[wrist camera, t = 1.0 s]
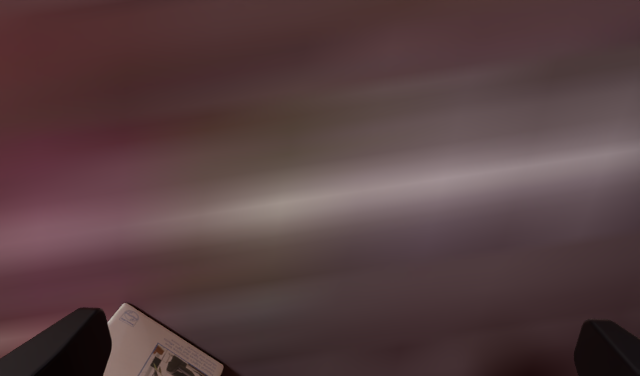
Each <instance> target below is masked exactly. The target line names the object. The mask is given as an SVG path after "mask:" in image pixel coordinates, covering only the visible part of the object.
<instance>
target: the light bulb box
mask: <svg viewBox="0 0 640 376" xmlns="http://www.w3.org/2000/svg"><path fill="white" fill-rule="evenodd" d="M108 327H109V331H110V335H111V339H112V349H111V354H110V357H109V360H108V363H107V366H106V369H105V372H104V375H103V376H221V373H222V371H223V368H224V367H223V365H222V364H221V363H219V362H218V361H216V360H214V359H213V358H211V357H210V356H208V355H207V354H205V353H204V352H202V351H200V350H199V349H197V348H196V347H194V346H193V345H191V344H190V343H188V342H186V341H185V340H183V339H182V338H180V337H179V336H177V335H176V334H174V333H172V332H171V331H169V330H168V329H166V328H165V327H163V326H162V325H160V324H158V323H157V322H155V321H154V320H152V319H151V318H149V317H147V316H146V315H144V314H143V313H141V312H140V311H138V310H137V309H135V308H134V307H132V306H130V305H129V304H127V303H124V304H123V305H122V306H121V307H120V308H119V309H118V311H117V312H116V313H115V314H114V315H113V317H112V318H111V319H110V320H109V322H108Z"/></svg>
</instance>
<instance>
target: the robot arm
mask: <svg viewBox="0 0 640 376" xmlns="http://www.w3.org/2000/svg"><path fill="white" fill-rule="evenodd" d="M111 349H112V339H111V335H110V331H109V327H108V323H107V320H106V316H105V313H104V311H103V310H102V309H100V308H85V307H83V308H79V309H77V310H75V311H74V312H72V313H70V314H69V315H67V316H66V317H64V318H63V319H61V320H60V321H58V322H56V323H55V324H53V325H52V326H50V327H49V328H47V329H46V330H44V331H42V332H41V333H39V334H38V335H36V336H35V337H33V338H32V339H30V340H29V341H27V342H25V343H24V344H22V345H21V346H19V347H18V348H16V349H15V350H13V351H11V352H10V353H8V354H7V355H5V356H4V357H2V358H1V359H0V376H103V375H104V372H105V369H106V366H107V363H108V360H109V357H110V354H111ZM574 362H575V366H576V369H577V373H578V376H640V339H639V338H637V337H636V336H634V335H633V334H631V333H630V332H628V331H627V330H625V329H624V328H622V327H621V326H619V325H618V324H616V323H615V322H613V321H611V320H608V319H588V320H586V321H585V322H584V323H583V325H582V328H581V331H580V335H579V338H578V341H577V344H576V348H575V351H574Z"/></svg>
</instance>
